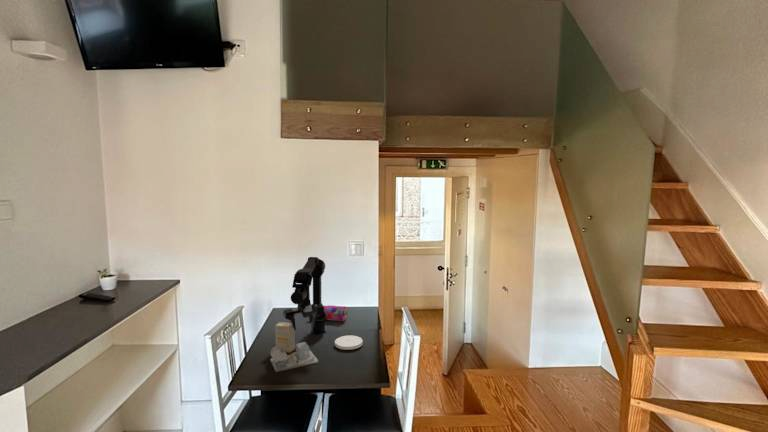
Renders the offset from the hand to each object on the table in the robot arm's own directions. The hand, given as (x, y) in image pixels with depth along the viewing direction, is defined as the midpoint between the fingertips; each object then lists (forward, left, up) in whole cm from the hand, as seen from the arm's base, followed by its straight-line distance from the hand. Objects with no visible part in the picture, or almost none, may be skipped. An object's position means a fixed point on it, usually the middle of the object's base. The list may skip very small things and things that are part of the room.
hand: (304, 328), depth 184 cm
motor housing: (+7, +7, -12) cm, 16 cm away
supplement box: (+8, -7, -12) cm, 16 cm away
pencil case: (-25, -37, -12) cm, 47 cm away
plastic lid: (-22, +2, -12) cm, 25 cm away
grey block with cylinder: (+3, +7, -11) cm, 14 cm away
